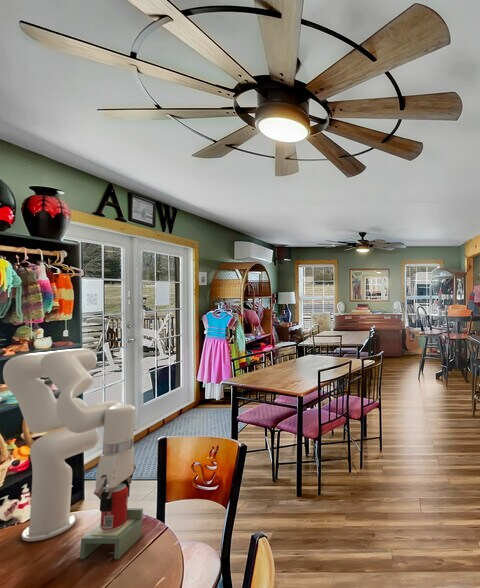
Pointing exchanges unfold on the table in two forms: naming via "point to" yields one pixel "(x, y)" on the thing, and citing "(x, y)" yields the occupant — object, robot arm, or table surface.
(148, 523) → the table surface
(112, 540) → the green stand
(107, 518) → the beverage can
